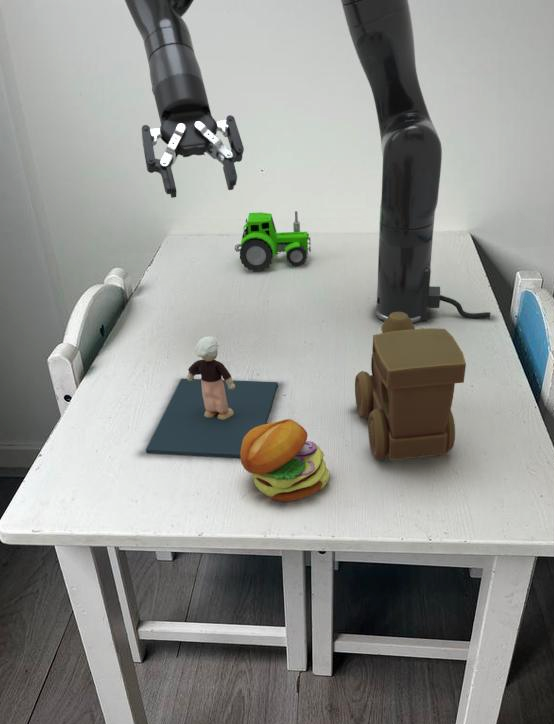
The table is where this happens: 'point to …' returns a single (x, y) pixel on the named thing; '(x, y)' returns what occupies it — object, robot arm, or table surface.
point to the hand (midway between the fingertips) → (203, 191)
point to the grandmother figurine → (212, 379)
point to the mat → (211, 420)
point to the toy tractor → (271, 242)
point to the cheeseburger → (283, 461)
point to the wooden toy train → (410, 390)
